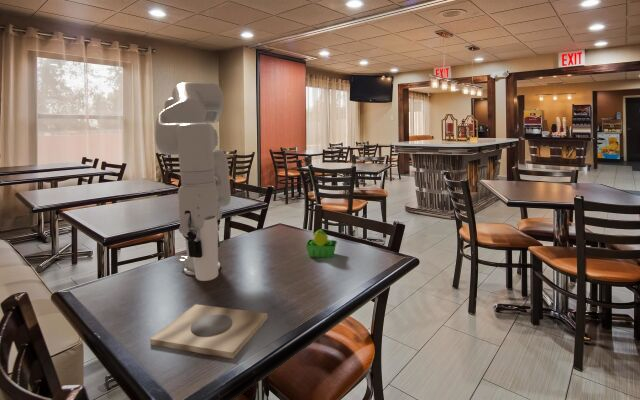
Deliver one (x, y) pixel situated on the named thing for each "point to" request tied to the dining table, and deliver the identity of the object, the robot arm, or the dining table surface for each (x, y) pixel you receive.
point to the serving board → (210, 330)
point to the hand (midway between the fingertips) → (204, 251)
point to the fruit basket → (321, 245)
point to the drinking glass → (207, 251)
